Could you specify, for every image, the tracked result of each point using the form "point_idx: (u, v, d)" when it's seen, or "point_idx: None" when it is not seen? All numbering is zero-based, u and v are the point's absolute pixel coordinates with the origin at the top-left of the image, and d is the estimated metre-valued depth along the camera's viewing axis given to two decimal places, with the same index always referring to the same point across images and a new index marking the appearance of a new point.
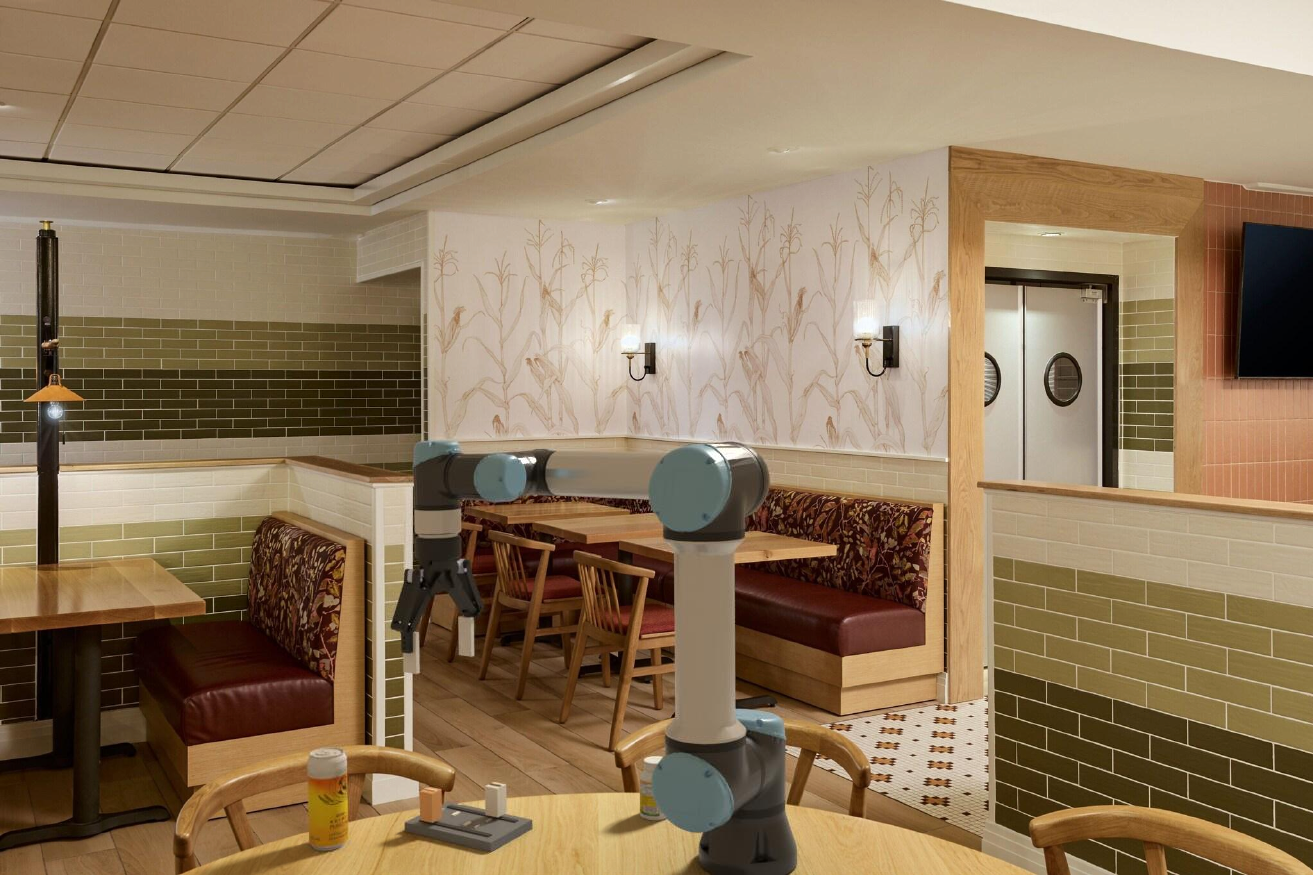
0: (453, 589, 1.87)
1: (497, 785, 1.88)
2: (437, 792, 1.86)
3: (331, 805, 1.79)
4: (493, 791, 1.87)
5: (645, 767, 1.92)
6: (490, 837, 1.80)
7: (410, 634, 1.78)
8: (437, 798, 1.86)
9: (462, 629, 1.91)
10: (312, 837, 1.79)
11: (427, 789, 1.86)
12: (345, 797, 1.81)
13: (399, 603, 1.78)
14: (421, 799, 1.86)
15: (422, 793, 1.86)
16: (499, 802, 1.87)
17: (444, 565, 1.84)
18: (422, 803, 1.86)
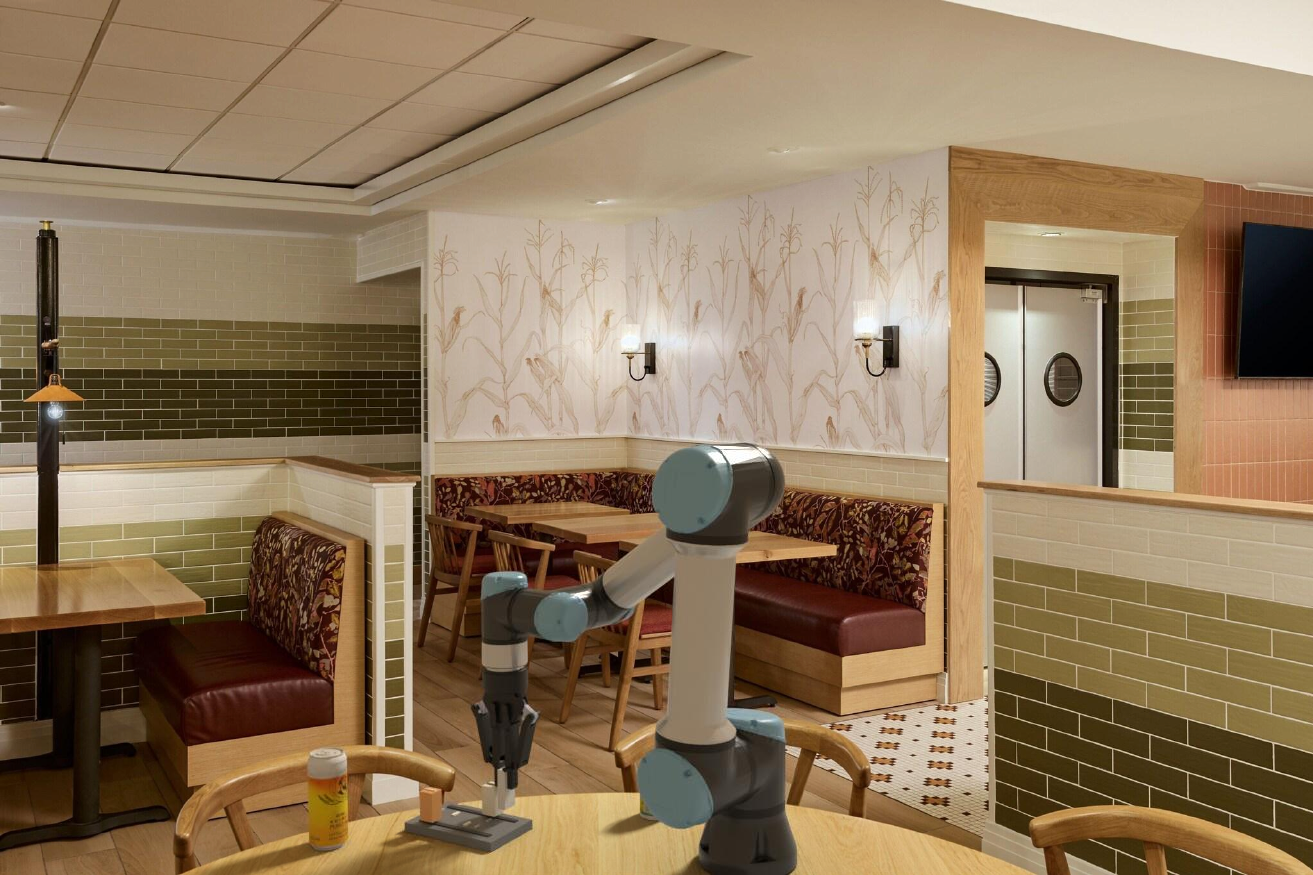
0: None
1: (494, 784, 1.88)
2: (437, 792, 1.86)
3: (331, 805, 1.79)
4: (489, 791, 1.88)
5: None
6: (490, 837, 1.80)
7: (497, 769, 1.87)
8: (437, 798, 1.86)
9: None
10: (312, 837, 1.79)
11: (427, 789, 1.86)
12: (345, 797, 1.81)
13: None
14: (421, 799, 1.86)
15: (422, 793, 1.86)
16: (496, 801, 1.88)
17: (502, 697, 1.86)
18: (422, 803, 1.86)
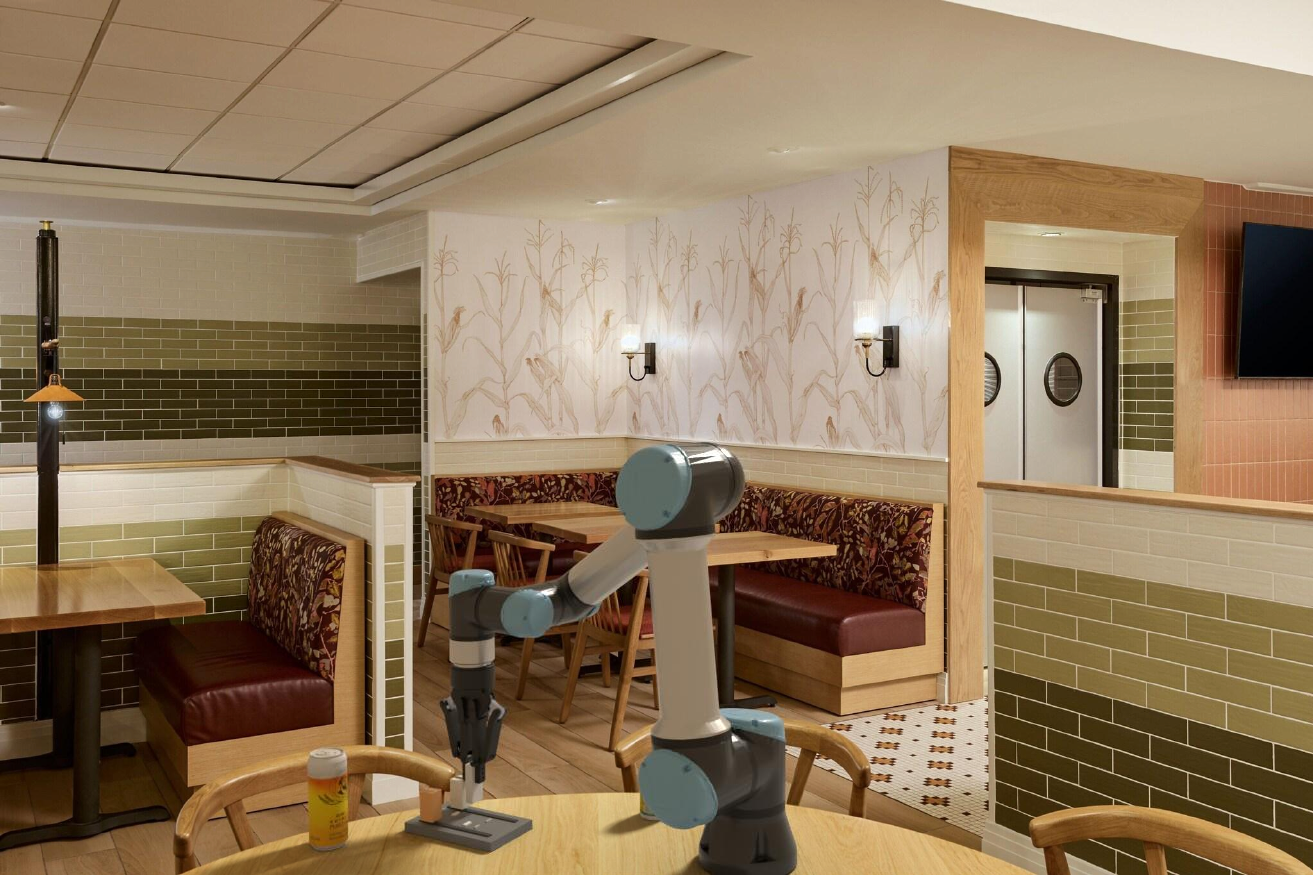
0: None
1: (462, 778, 1.92)
2: (437, 792, 1.86)
3: (331, 805, 1.79)
4: (457, 784, 1.91)
5: None
6: (490, 837, 1.80)
7: (465, 763, 1.91)
8: (437, 798, 1.86)
9: None
10: (312, 837, 1.79)
11: (427, 789, 1.86)
12: (345, 797, 1.81)
13: None
14: (421, 799, 1.86)
15: (422, 793, 1.86)
16: (464, 795, 1.91)
17: (469, 693, 1.89)
18: (422, 803, 1.86)
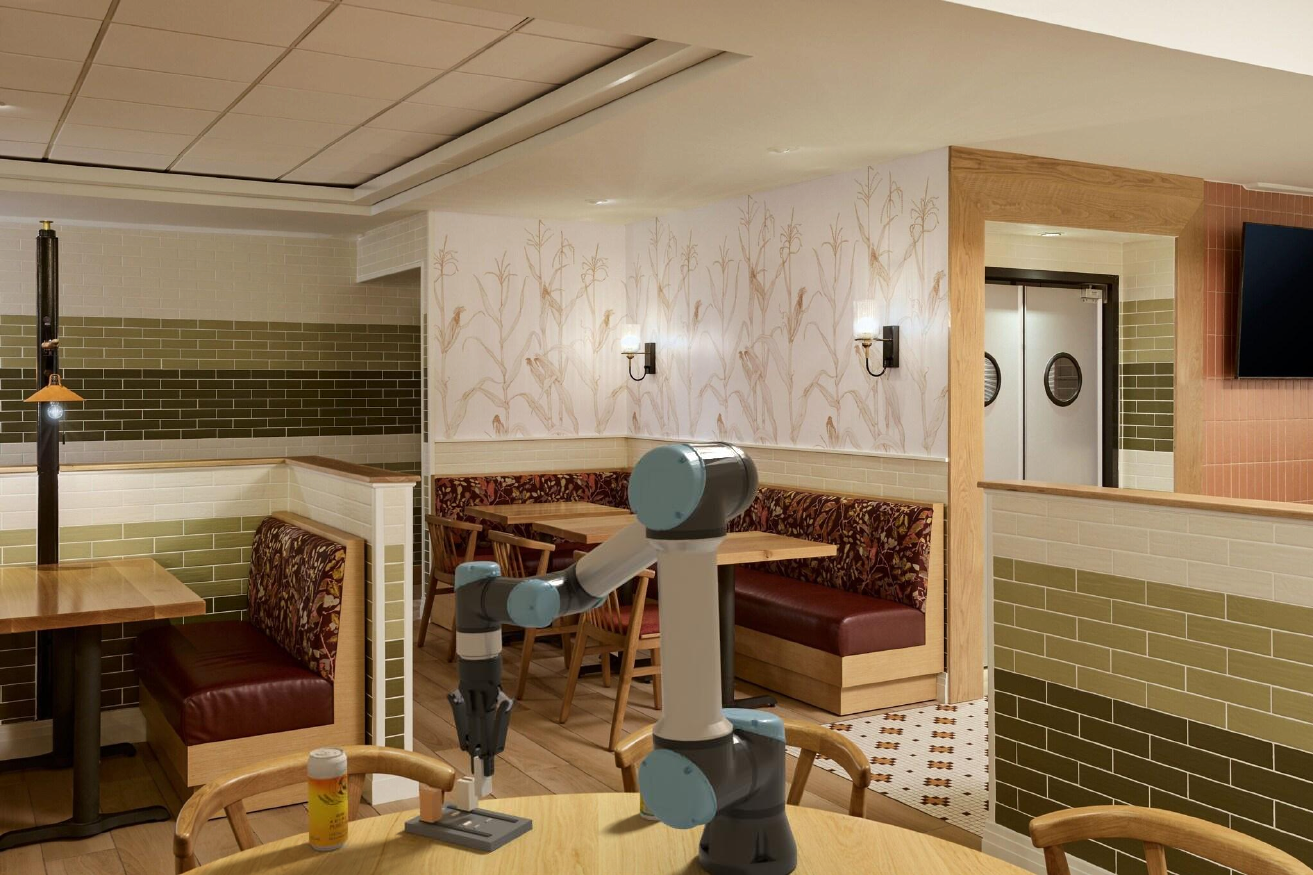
0: None
1: (468, 779, 1.91)
2: (437, 792, 1.86)
3: (331, 805, 1.79)
4: (464, 786, 1.90)
5: None
6: (490, 837, 1.80)
7: (473, 757, 1.90)
8: (437, 798, 1.86)
9: None
10: (312, 837, 1.79)
11: (427, 789, 1.86)
12: (345, 797, 1.81)
13: None
14: (421, 799, 1.86)
15: (422, 793, 1.86)
16: (470, 796, 1.90)
17: (477, 685, 1.88)
18: (422, 803, 1.86)
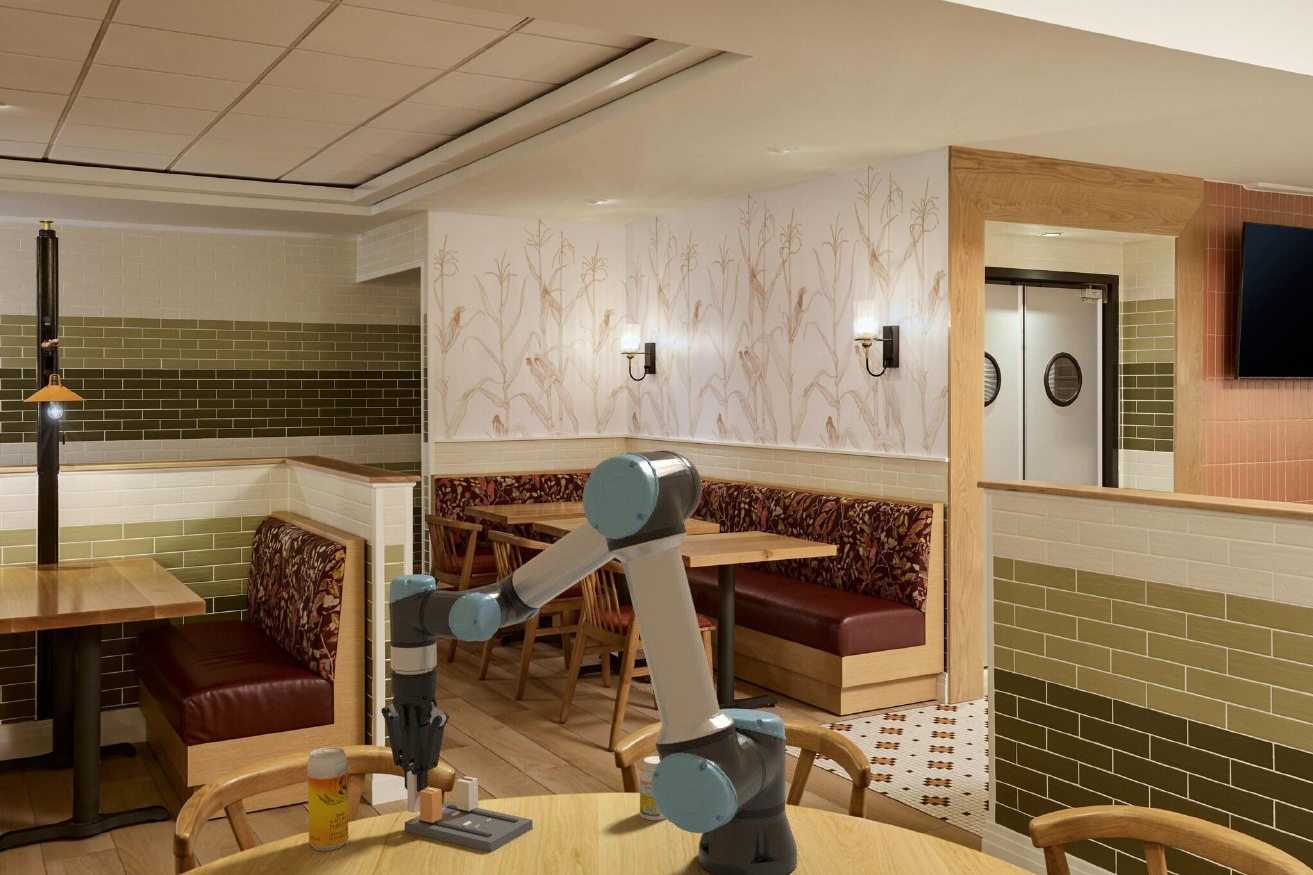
0: None
1: (468, 779, 1.91)
2: (437, 792, 1.86)
3: (331, 805, 1.79)
4: (464, 786, 1.90)
5: (645, 767, 1.92)
6: (490, 837, 1.80)
7: (407, 771, 1.88)
8: (437, 798, 1.86)
9: None
10: (312, 837, 1.79)
11: (427, 789, 1.86)
12: (345, 797, 1.81)
13: None
14: (421, 799, 1.86)
15: (422, 793, 1.86)
16: (470, 796, 1.90)
17: (411, 700, 1.86)
18: (422, 803, 1.86)
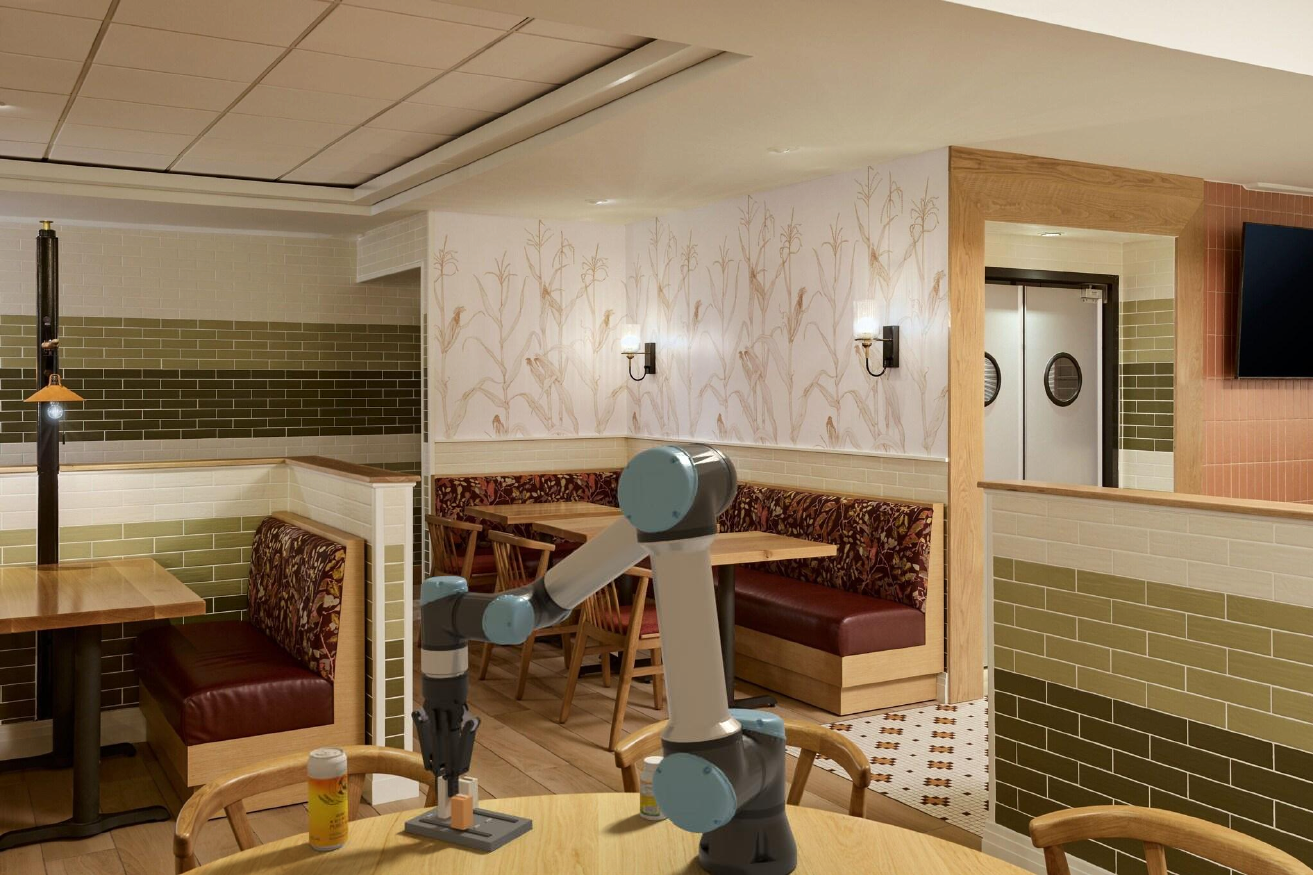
0: None
1: (468, 779, 1.91)
2: (468, 799, 1.83)
3: (331, 805, 1.79)
4: (464, 786, 1.90)
5: (645, 767, 1.92)
6: (490, 837, 1.80)
7: (437, 777, 1.85)
8: (468, 805, 1.83)
9: None
10: (312, 837, 1.79)
11: (458, 796, 1.83)
12: (345, 797, 1.81)
13: None
14: (452, 806, 1.83)
15: (453, 799, 1.82)
16: None
17: (442, 704, 1.83)
18: (453, 810, 1.83)
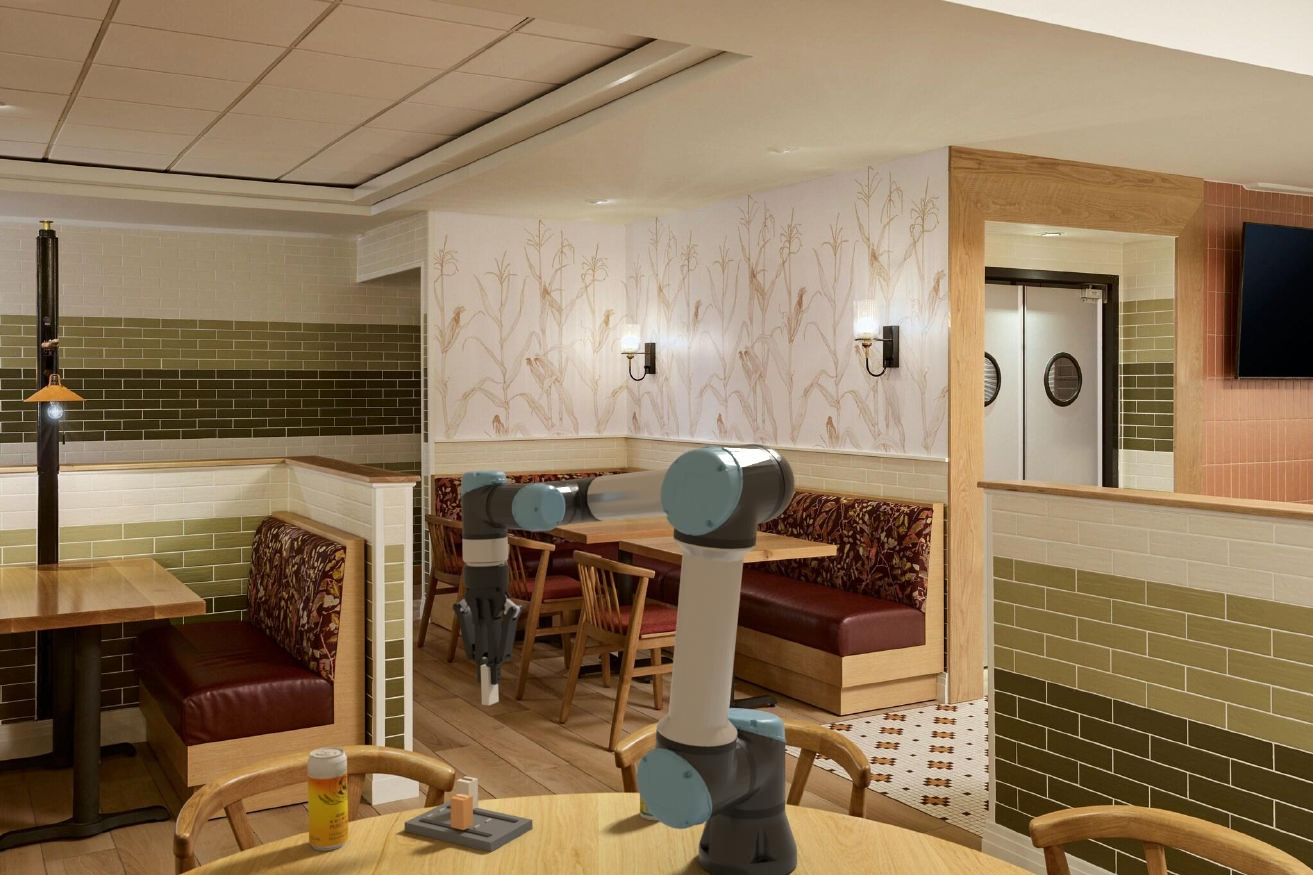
0: None
1: (468, 779, 1.91)
2: (468, 799, 1.83)
3: (331, 805, 1.79)
4: (464, 786, 1.90)
5: None
6: (490, 837, 1.80)
7: (480, 665, 1.89)
8: (468, 805, 1.83)
9: None
10: (312, 837, 1.79)
11: (458, 796, 1.83)
12: (345, 797, 1.81)
13: None
14: (452, 806, 1.83)
15: (453, 799, 1.82)
16: None
17: (484, 593, 1.88)
18: (453, 810, 1.83)
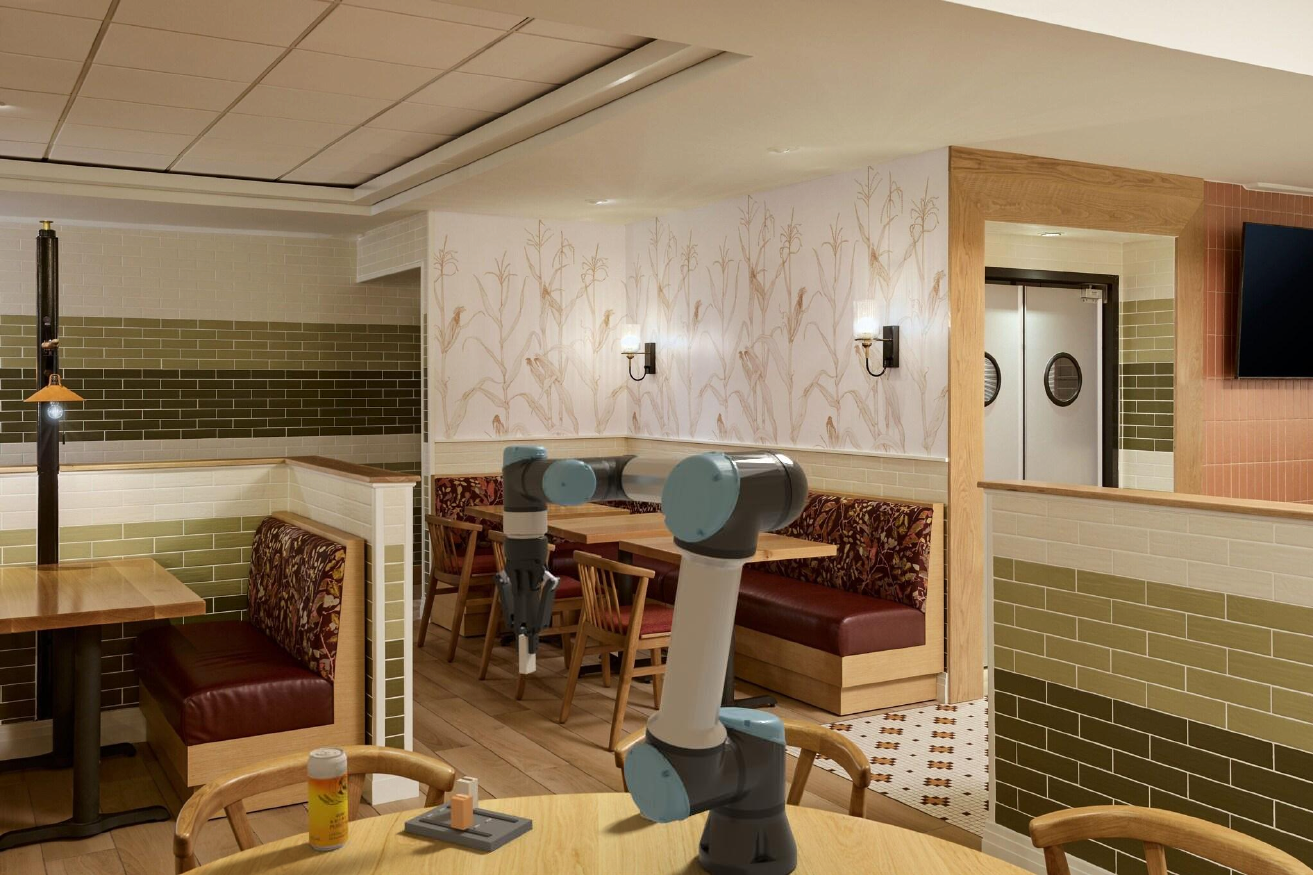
0: None
1: (468, 779, 1.91)
2: (468, 799, 1.83)
3: (331, 805, 1.79)
4: (464, 786, 1.90)
5: None
6: (490, 837, 1.80)
7: (518, 635, 1.94)
8: (468, 805, 1.83)
9: None
10: (312, 837, 1.79)
11: (458, 796, 1.83)
12: (345, 797, 1.81)
13: None
14: (452, 806, 1.83)
15: (453, 799, 1.82)
16: None
17: (523, 565, 1.93)
18: (453, 810, 1.83)
